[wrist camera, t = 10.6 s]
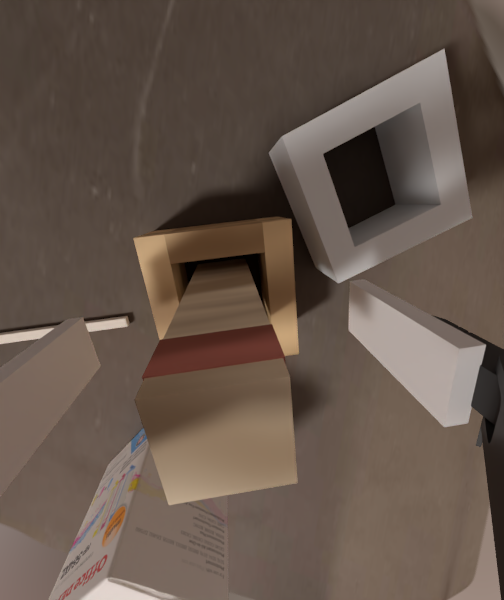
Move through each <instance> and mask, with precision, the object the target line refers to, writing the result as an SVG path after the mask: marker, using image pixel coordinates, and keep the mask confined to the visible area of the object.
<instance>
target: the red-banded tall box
mask: <svg viewBox="0 0 504 600" xmlns="http://www.w3.org/2000/svg"><path fill="white" fill-rule="evenodd" d="M142 378H143V383H142V385H141V387H140V389H139V391H138V394H137V396H136V398H135V403H136V406H137V409H138V412H139V415H140V418H141V421H142V425H143V428H144V431H145V434H146V437H147V440H148V443H149V446H150V449H151V452H152V455H153V458H154V461H155V465H156V468H157V471H158V474H159V477H160V480H161V483H162V486H163V489H164V492H165V495H166V498H167V501H168V505H174V504H179V503H185V502H191V501H197V500H202V499H208V498H214V497H219V496H225V495H231V494H237V493H242V492H248V491H254V490H260V489H265V488H271V487H277V486H283V485H288V484H294V483H297V469H296V455H295V441H294V427H293V412H292V398H291V384H290V375H289V372H288V370H287V367H286V365H285V355H284V353H283V350H282V348H281V345H280V343H279V340H278V338H277V335H276V333H275V330H274V328H273V325H272V324H270V323H269V320H268V317H267V315H266V312H265V309H264V307H263V304H262V301H261V299H260V296H259V294H258V291H257V288H256V286H255V283H254V280H253V278H252V275H251V273H250V270H249V267H248V265H247V262H246V259H245V258H241V259H233V260H225V261H217V262H209V263H201V264H198V265H197V267H196V269H195V271H194V274H193V276H192V278H191V280H190V282H189V284H188V286H187V289H186V291H185V293H184V295H183V297H182V299H181V301H180V304H179V306H178V308H177V310H176V312H175V314H174V316H173V319H172V321H171V323H170V325H169V327H168V329H167V331H166V334H165V336H164V338H163V339H162V340H160V341H159V343H158V345H157V347H156V349H155V352H154V354H153V356H152V358H151V360H150V362H149V364H148V366H147V368H146V370H145V372H144V374H143V376H142Z"/></svg>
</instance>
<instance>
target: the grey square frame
mask: <svg viewBox="0 0 504 600" xmlns="http://www.w3.org/2000/svg"><path fill="white" fill-rule="evenodd" d="M373 127H375V130H376V134H377V138H378V141H379V145H380V149H381V153H382V156H383V160H384V164H385V168H386V171H387V175H388V179H389V183H390V186H391V190H392V194H393V197H394V201H395V205H394V206H392V207H390V208H388V209H386V210H384V211H382V212H380V213H378V214H376V215H374V216H372V217H370V218H368V219H366V220H364V221H362V222H360V223H358V224H356V225H354V226H352V227H350V228H348V226H347V223H346V220H345V217H344V214H343V211H342V208H341V205H340V203H339V200H338V197H337V194H336V191H335V188H334V185H333V182H332V179H331V176H330V173H329V170H328V167H327V164H326V162H325V159H324V156H323V154H324V153H326V152H328V151H330V150H331V149H333V148H335V147H337V146H339V145H341V144H343V143H345V142H347V141H348V140H350V139H352V138H354V137H356V136H358V135H360V134H362V133H364V132H365V131H367V130H369V129H371V128H373ZM269 155H270V157H271V160H272V162H273V165H274V167H275V170H276V172H277V175H278V177H279V179H280V182H281V184H282V187H283V189H284V192H285V194H286V197H287V199H288V201H289V204H290V206H291V209H292V211H293V214H294V216H295V218H296V221H297V223H298V226H299V228H300V231H301V233H302V236H303V238H304V240H305V243H306V245H307V248H308V250H309V253H310V255H311V258H312V260H313V262H314V265H315V267H316V268H317V269H318V270H320V271H321V272H322V273H324V274H325V275H327V276H328V277H330V278H331V279H333V280H334V281H336V282H337V283H340V282H342V281H344V280H346V279H349V278H351V277H353V276H355V275H357V274H359V273H361V272H363V271H365V270H367V269H369V268H371V267H373V266H375V265H377V264H379V263H381V262H383V261H385V260H387V259H389V258H391V257H393V256H395V255H397V254H399V253H402V252H404V251H406V250H408V249H410V248H412V247H414V246H416V245H418V244H420V243H422V242H424V241H426V240H428V239H430V238H432V237H434V236H436V235H438V234H440V233H442V232H444V231H446V230H448V229H450V228H452V227H455V226H457V225H459V224H461V223H463V222H465V221H467V220H469V219H471V218H472V212H471V206H470V200H469V194H468V188H467V182H466V176H465V170H464V164H463V158H462V152H461V146H460V140H459V134H458V128H457V122H456V115H455V109H454V103H453V97H452V91H451V85H450V79H449V73H448V67H447V61H446V55H445V49H443V50H441V51H439V52H437V53H435V54H433V55H432V56H430V57H428V58H426V59H424V60H422V61H420V62H419V63H417V64H415V65H413V66H411V67H409V68H408V69H406V70H404V71H402V72H400V73H398V74H396V75H395V76H393V77H391V78H389V79H387V80H385V81H383V82H382V83H380V84H378V85H376V86H374V87H372V88H371V89H369V90H367V91H365V92H363V93H361V94H359V95H358V96H356V97H354V98H352V99H350V100H348V101H346V102H345V103H343V104H341V105H339V106H337V107H335V108H334V109H332V110H330V111H328V112H326V113H324V114H322V115H321V116H319V117H317V118H315V119H313V120H311V121H309V122H308V123H306V124H304V125H302V126H300V127H298V128H297V129H295V130H293V131H291V132H289V133H287V134H285V135H284V136H282V137H281V138H280V139H279V141H278V142H277V143H276V144H275V145H274V147H273V148H272V149H271V150H270V152H269Z"/></svg>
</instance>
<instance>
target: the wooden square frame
mask: <svg viewBox="0 0 504 600" xmlns="http://www.w3.org/2000/svg"><path fill="white" fill-rule="evenodd" d="M133 239H134V243H135V247H136V250H137V254H138V258H139V262H140V266H141V270H142V274H143V277H144V281H145V285H146V289H147V293H148V297H149V301H150V304H151V308H152V312H153V316H154V320H155V324H156V328H157V332H158V335H159V339H160V340H162V339H163V338H164V336H165V334H166V331H167V329H168V327H169V325H170V323H171V321H172V319H173V316H174V314H175V312H176V310H177V308H178V306H179V304H180V301H181V299H182V297H183V295H184V293H185V291H186V289H187V286H188V284H189V283H188V278H187V273H186V268H185V263H184V262H191V261H199V260H207V259H215V258H223V257H231V256H239V255H247V254H255V253H258V261H259V271H260V281H261V291H262V301H263V307H264V309H265V312H266V315H267V317H268V320H269V323H270V324H272V325H273V328H274V330H275V333H276V335H277V338H278V340H279V343H280V345H281V348H282V350H283V353H284V355H285V356H287V355H294V354H299V349H298V330H297V312H296V293H295V275H294V257H293V238H292V220H291V219H288V218H283V217H278V216H276V217H267V218H259V219H250V220H242V221H233V222H225V223H217V224H208V225H200V226H191V227H183V228H175V229H166V230H158V231H152V232H149V233H147V234H144V235H141V236H138V237H135V238H133Z"/></svg>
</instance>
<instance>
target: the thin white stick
mask: <svg viewBox="0 0 504 600" xmlns="http://www.w3.org/2000/svg"><path fill="white" fill-rule="evenodd" d="M85 324H86V327H87V330H88V332H91V331H98V330H105V329H113V328H120V327H127V326H128V325H129V324H130V323H129V319H128V316H122V317H115V318H107V319H100V320H92V321H85ZM57 326H58V325H55V326H48V327H41V328H33V329H26V330H18V331H11V332H4V333H0V344H3V343H11V342H18V341H25V340H32V339H40V338H42V337H43V336H44V335H46V334H47V333H48V332H50V331H51V330H53V329H54V328H55V327H57Z"/></svg>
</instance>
